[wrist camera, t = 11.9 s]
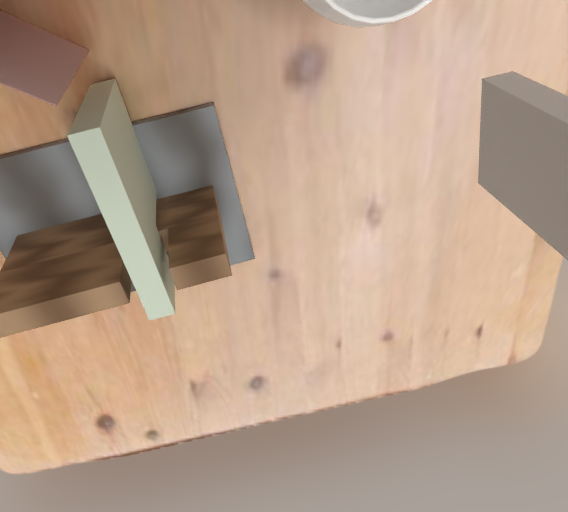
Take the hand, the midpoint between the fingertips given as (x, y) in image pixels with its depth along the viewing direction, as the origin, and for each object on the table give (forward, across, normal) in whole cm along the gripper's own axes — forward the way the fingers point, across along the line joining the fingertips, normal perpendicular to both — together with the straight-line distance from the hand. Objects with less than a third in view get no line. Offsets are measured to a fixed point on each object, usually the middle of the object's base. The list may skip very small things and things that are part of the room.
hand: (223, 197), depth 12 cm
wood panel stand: (+34, -11, -16) cm, 39 cm away
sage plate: (+33, -8, -12) cm, 36 cm away
